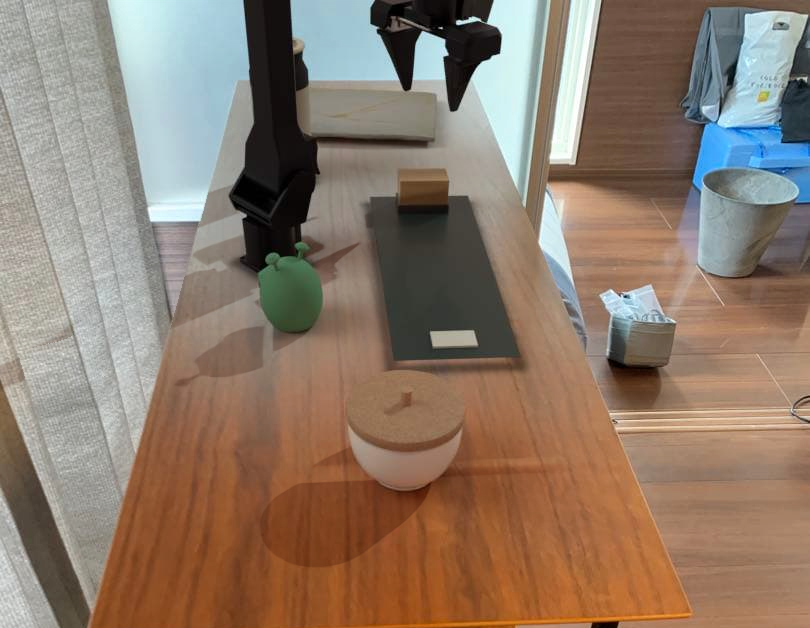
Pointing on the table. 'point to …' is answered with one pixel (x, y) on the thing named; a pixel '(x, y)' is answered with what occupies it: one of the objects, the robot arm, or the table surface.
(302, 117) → the travel mug
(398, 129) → the decorative slab
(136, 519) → the table surface
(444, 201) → the eraser
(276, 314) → the alien toy
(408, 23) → the robot arm
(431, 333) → the smudge
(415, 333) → the board
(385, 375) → the trinket box
